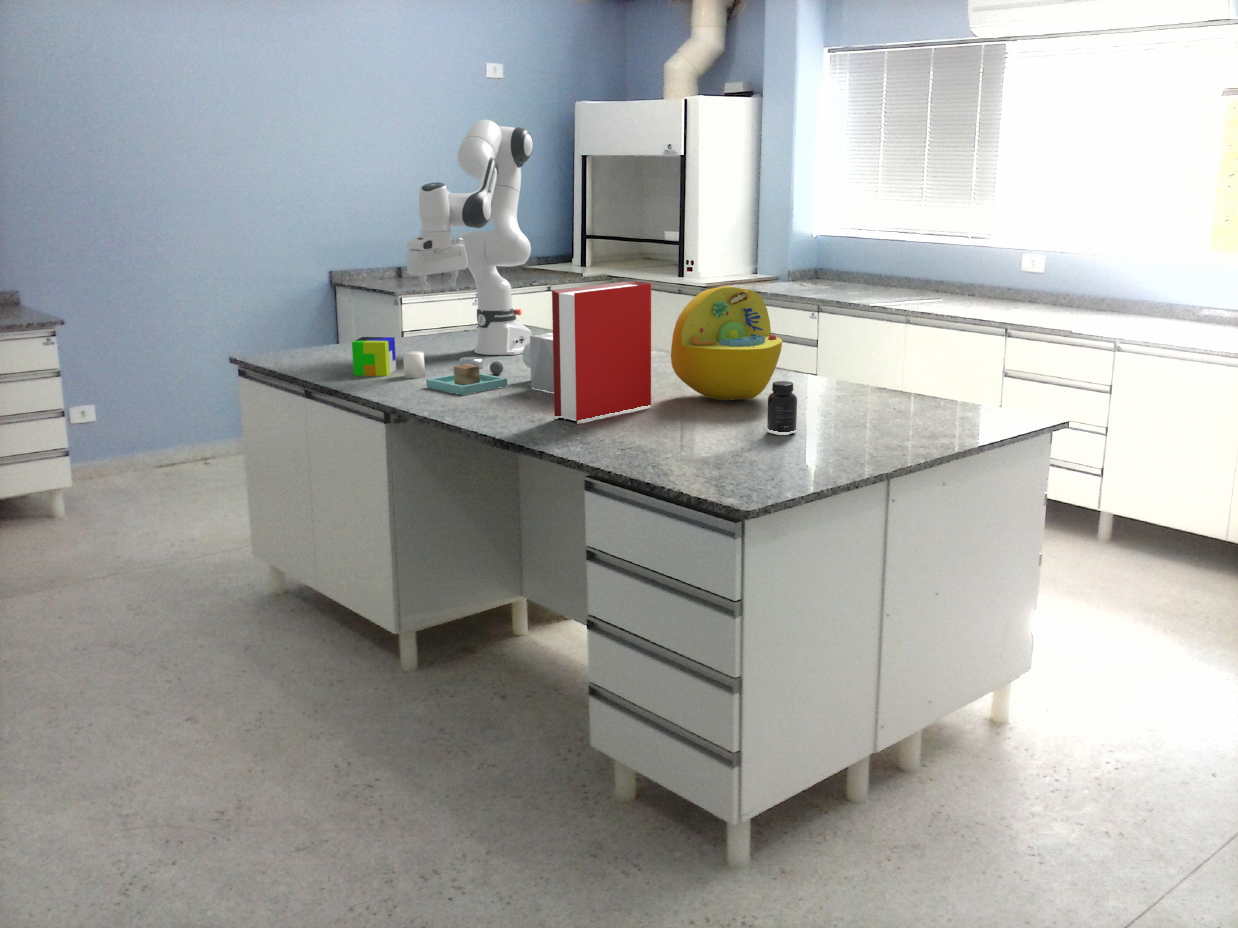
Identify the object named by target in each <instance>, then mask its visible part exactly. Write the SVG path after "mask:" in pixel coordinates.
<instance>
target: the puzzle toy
mask: <svg viewBox="0 0 1238 928" xmlns="http://www.w3.org/2000/svg"><path fill="white" fill-rule="evenodd" d="M395 338H396V337H395V336H392V337H389V336H387V337H386V336H361V337H359V338H357V339H356V340H355V339H354V340H353V341H352V342H351V349H352V350H351V352H352V366H353V369H352V370H353V376H355V377H356V376H364V377H372V376H373V377H388V376H389V375H391V374H392V373H393V372H395V371H397V358H396V340H395ZM390 373H391V374H390Z"/></svg>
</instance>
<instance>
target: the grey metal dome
mask: <svg viewBox="0 0 1238 928" xmlns="http://www.w3.org/2000/svg"><path fill="white" fill-rule="evenodd" d="M465 364H470V365H476V366H479V370H482V369H484V361H483V357H480V356H467V357H466V356H465V357H461V358H459V365H465Z"/></svg>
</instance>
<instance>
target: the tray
mask: <svg viewBox="0 0 1238 928" xmlns="http://www.w3.org/2000/svg"><path fill="white" fill-rule="evenodd" d="M479 377H480V383H475V384H470V385H465V386H462V385H458V384H454V373H453V374H449V375H443V376H437V377H433V378H427V379H425V380H426V382H425V383H426V388H427V387H428V388H427V389H430V388H431V390H435V389H436V391H439V390H442V391H441V392H444V391H445V392H446V393H449V392H452V393H451V394H453V393H458V394H462V395H461V396H463V395H464V396H466V395H465V394H468V393H474V392H479V393H482V392H481V391H484V390H489V391H491V390H490V389H494V390H497V389H496V388H499V387H504V388H506V387H505V386H507V387H508V378H507V377H502V376H498V375H493V374H492V375H491V374H485V373H480V372H479ZM499 389H500V388H499ZM484 392H485V391H484ZM458 394H457V395H458ZM474 394H475V393H474Z"/></svg>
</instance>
